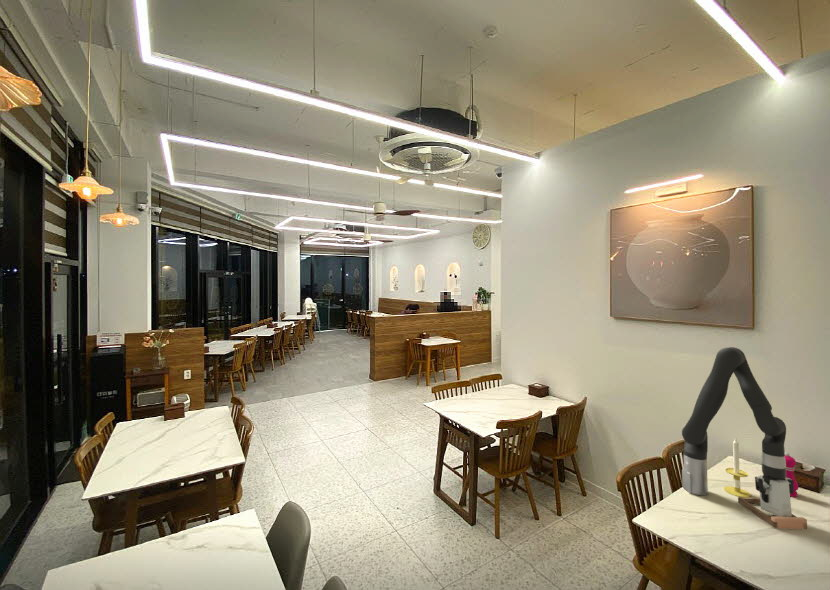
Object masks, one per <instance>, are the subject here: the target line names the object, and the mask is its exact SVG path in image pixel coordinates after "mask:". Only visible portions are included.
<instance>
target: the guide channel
mask: <svg viewBox="0 0 830 590" xmlns="http://www.w3.org/2000/svg"><path fill="white" fill-rule="evenodd" d="M737 503H738V504H740V505H741V506H742V507H744V508H746V509H747V510H748V511H750V512H751V513H752V514H754V515H755V516H756V517H758V518H760V519H761V520H763V522H765V523H767V524H768V525H769V526H770V527H772V528H773V529H779V528H778V525H777V522H776V523H774V522H773V521H772V520H771V516H769V515H767V514H766V513H765V512H763V511H762V510H760V509H759V508H758V507H756V506H755V505H760V506H761V503H760V497H738V496H737ZM791 517H797V516H796V515H795V514H793V513H792V516H791ZM806 524H807V526H806V527H807V528H808V522H807V523H805V525H806ZM775 525H776V526H775ZM774 526H775V527H776V528H775V527H774ZM803 530H806V529H805V528H804V529H803Z"/></svg>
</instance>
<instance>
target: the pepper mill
mask: <svg viewBox="0 0 830 590" xmlns="http://www.w3.org/2000/svg"><path fill="white" fill-rule="evenodd" d="M785 460H786V477H788V478H790V479H792V480H793V481H794V489H793V494H791V493H790V496H791V497H790V498H792V497H793V498H795V497H798V492H797V491H798V490H799V483H798V481H797V480H796V478H795V475H794V471H795V470H796V468H795V466H796V465H797V461H796V459H795V458H794V457H793V456H790V453H789V452H786V451H785Z"/></svg>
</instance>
